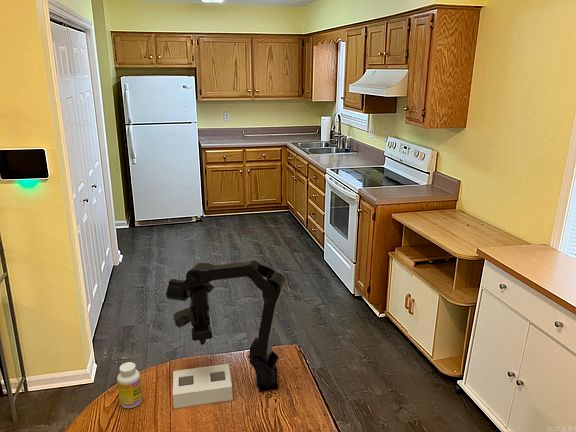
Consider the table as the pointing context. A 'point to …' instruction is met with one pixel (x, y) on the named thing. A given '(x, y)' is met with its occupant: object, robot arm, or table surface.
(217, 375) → the peg
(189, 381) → the peg
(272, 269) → the robot arm
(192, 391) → the bore block
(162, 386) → the table surface
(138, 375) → the supplement bottle
